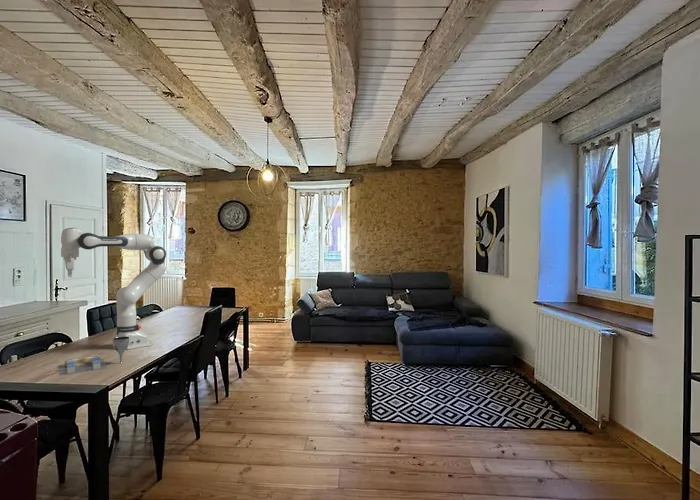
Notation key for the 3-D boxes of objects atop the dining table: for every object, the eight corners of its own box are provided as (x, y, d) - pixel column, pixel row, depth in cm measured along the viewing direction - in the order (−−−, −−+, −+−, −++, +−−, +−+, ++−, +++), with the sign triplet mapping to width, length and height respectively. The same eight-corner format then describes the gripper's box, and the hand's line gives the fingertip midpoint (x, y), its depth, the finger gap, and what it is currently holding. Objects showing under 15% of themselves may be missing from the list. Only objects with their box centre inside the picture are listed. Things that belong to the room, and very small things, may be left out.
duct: (103, 360, 217) (103, 351, 217) (107, 370, 201) (107, 360, 201) (59, 366, 205) (60, 357, 205) (60, 377, 188) (60, 367, 188)
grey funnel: (132, 363, 212) (132, 337, 212) (119, 367, 205) (119, 340, 205) (121, 361, 215) (122, 335, 215) (109, 365, 208) (109, 339, 208)
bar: (99, 360, 213) (99, 355, 213) (100, 362, 211) (100, 356, 211) (64, 365, 203) (64, 360, 203) (64, 367, 201) (64, 361, 201)
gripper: (77, 254, 222) (76, 277, 223) (75, 253, 239) (75, 275, 239) (63, 254, 219) (63, 278, 219) (63, 253, 235) (63, 275, 235)
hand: (69, 276), depth 229 cm, fingers open, 8 cm apart
